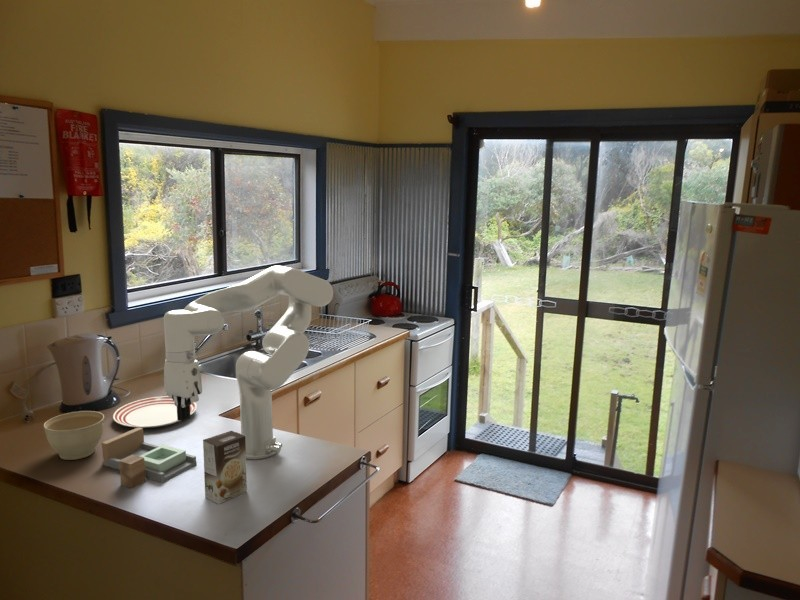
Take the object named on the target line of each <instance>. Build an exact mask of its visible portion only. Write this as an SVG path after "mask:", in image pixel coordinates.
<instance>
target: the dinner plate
mask: <svg viewBox="0 0 800 600" xmlns="http://www.w3.org/2000/svg"><path fill="white" fill-rule="evenodd" d="M197 409H198V405H197V403H196V402H192V404H191V405H190V416H191V415H193V414H194V413H195V412H196V411H197ZM112 418H113V421H114V422H115V423H116V424H118V425H121V426H123V427H130V428H138V427H140V428H143V429H152V428H160V427H161V428H162V427H165V426H169V425H172V424H176V423H178V422H180V421H179V420H177V406H175V403H174V400H173V399H172V398H170V397H169V396H167V395H164V396H163V395H162V396H161V395H160V396H153V397H147V398H142V399H138V400H135V401H132V402H129V403H126V404H124V405H123V406H121V407H118V409H116V410H115V412H114V413H113V415H112Z"/></svg>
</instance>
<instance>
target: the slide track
mask: <svg viewBox="0 0 800 600" xmlns="http://www.w3.org/2000/svg"><path fill="white" fill-rule="evenodd" d="M144 438H145V437H144V428H140V427H138V428H137V427H134V429H133V428H132V429H131V430H128V431H126V432H124V433H121V434H119V435H117V436H115V437H112V438H109V439H108V440H104V441H102V442H101V449H102V461H101V462H102V466H105V467H108V466H109V467H108V468H112V469H114V470H118V469H119V470H118V471H120V467H119V461H120V460H122V459H124V458H126V457H128V456H131V455H136V456H141V455H143V454H145V453H147V452H149V451H151V450H153V449H155V448H158V447H160V446H161V445H155V444H152V443H149V442H148V443H147V442H145V439H144ZM194 466H197V456H196V455H191V454H188V453H186V461H185V462H183V463H181V464H179V465H177V466H175V467H173V468H171V469H169V470H167V471H166V472H164V473H163V472H159V471H156V470H153V469H149V468H146V467H145V475H146V480H147V479H148V480H151V481H155V482H158V483H161V484H163V483H164V482H167V481H169V480H170V479H172V478H174V477H175V476H178V475H180V474H181V473H183V472H184V471H187V470H188V469H190V468H192V467H194Z"/></svg>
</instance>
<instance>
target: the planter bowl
mask: <svg viewBox="0 0 800 600" xmlns="http://www.w3.org/2000/svg"><path fill="white" fill-rule="evenodd" d="M104 421H105V414H103V413H102V412H99V411H95V410H93V411H92V410H79V411H71V412H67V413H63V414H59V415H57V416H54V417H51V418H50V419H48V420H47V421H45V422H44V423H43V429H44V432H45V437H46V439H47V442H48V443H49V445H50V447H51V448H52V449H53V450H54V451H55V452H56V453H57V454H58V455H59V458H60V459H61V460H67V461H74V460H79V459H83V458H84V459H85V458H87V457H89V456H91V455H93V453H95V451H96V447H97V446H98V444H99V442H100V441H101V438H102V437H103V433H104V427H105V424H104Z"/></svg>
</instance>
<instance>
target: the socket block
mask: <svg viewBox="0 0 800 600" xmlns="http://www.w3.org/2000/svg"><path fill="white" fill-rule="evenodd" d="M159 446H160V447H158V448H155V449H153V450H151V451H149V452H147V453H145V454H143V455H141V456H140V457H143V458H144V461H145V467H146V468H149V469H153V470H156V471H159V472H163V473H164V472H166V471H167V470H169V469H171V468H173V467H175V466H177V465H179V464H181V463H183V462H185V461H186V454H187V451H186V450H183V449H180V448H177V447H173V446H169V445H166V444H162V445H159Z"/></svg>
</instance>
